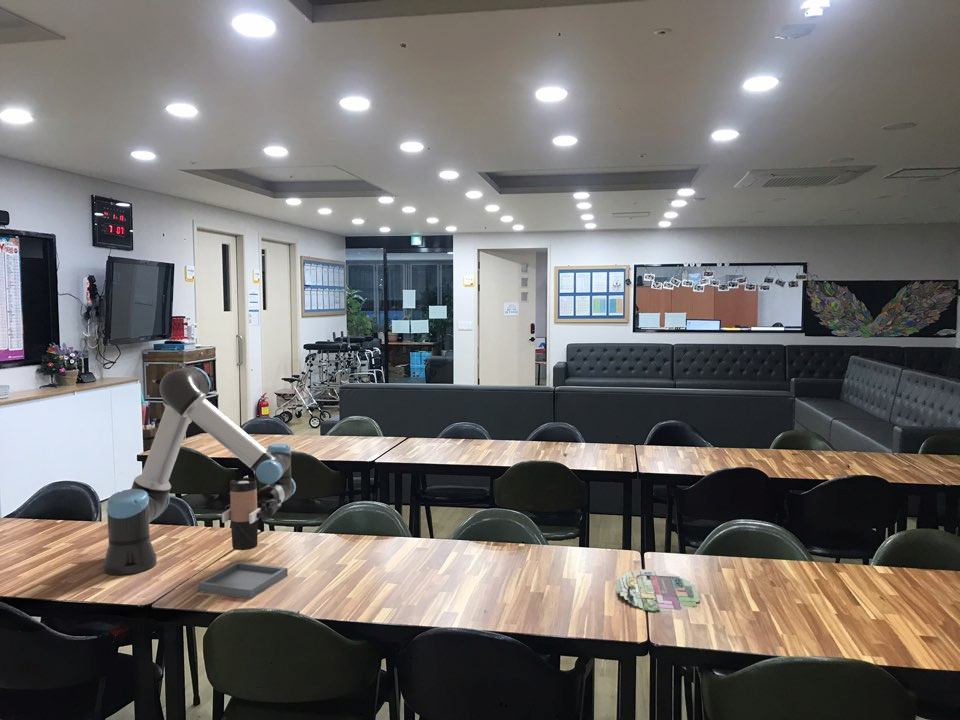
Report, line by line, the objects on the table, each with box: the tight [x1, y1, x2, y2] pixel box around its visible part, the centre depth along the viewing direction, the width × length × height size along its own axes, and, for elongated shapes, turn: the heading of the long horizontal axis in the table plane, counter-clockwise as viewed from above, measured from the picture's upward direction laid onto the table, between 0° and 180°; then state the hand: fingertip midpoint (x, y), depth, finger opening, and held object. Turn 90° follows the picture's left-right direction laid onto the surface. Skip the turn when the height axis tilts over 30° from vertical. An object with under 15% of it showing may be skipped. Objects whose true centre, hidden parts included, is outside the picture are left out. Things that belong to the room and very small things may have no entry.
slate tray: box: [197, 561, 289, 600], centre depth 208 cm, size 18×18×2 cm
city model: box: [615, 569, 701, 613], centre depth 198 cm, size 25×24×6 cm
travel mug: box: [229, 477, 259, 551], centre depth 211 cm, size 8×8×20 cm
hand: (236, 518), depth 206 cm, fingers closed on travel mug, 8 cm apart
